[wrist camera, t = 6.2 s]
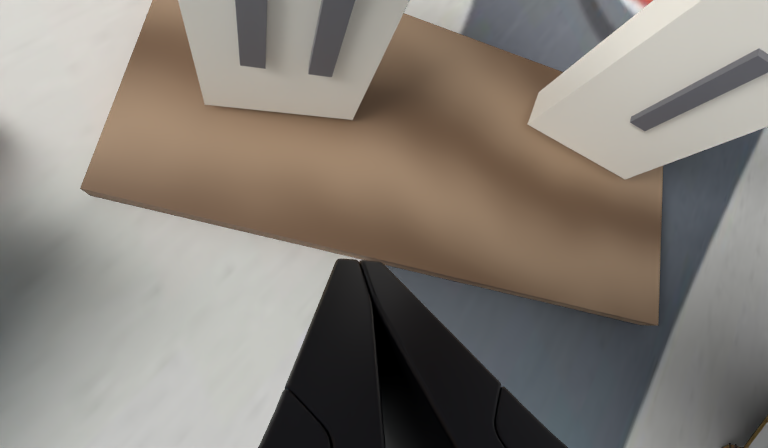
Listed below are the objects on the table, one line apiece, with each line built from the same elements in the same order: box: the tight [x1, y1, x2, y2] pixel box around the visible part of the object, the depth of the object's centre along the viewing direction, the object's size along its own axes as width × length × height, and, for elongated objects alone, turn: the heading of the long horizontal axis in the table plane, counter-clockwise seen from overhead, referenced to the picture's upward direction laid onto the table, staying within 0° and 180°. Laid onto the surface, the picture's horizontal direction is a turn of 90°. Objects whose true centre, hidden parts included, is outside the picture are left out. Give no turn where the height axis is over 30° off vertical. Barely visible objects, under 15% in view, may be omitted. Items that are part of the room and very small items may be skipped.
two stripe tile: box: [178, 0, 410, 120], centre depth 13 cm, size 2×6×11 cm, turn 91°
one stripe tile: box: [527, 0, 768, 179], centre depth 17 cm, size 2×6×11 cm, turn 67°
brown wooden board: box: [80, 0, 663, 325], centre depth 21 cm, size 12×26×1 cm, turn 79°
